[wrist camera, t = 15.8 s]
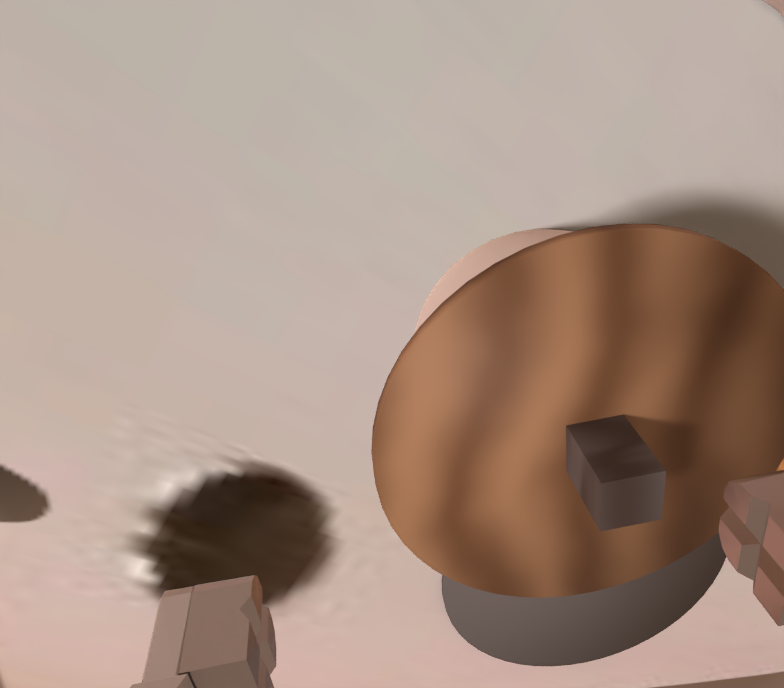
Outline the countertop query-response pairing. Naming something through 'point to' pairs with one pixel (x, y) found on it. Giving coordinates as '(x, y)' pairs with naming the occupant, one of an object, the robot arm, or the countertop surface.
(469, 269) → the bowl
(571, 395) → the lid
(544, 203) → the countertop surface
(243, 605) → the robot arm
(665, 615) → the mat
